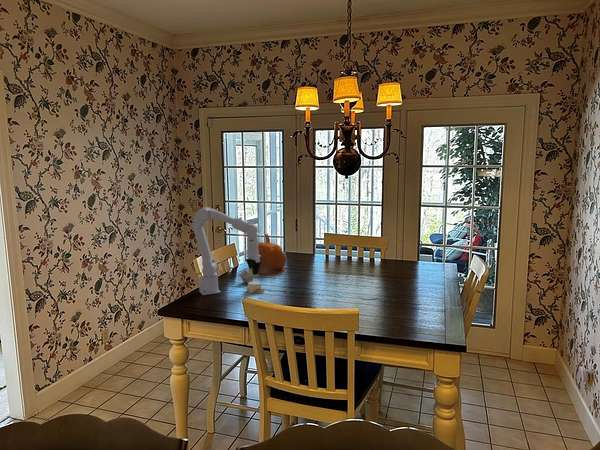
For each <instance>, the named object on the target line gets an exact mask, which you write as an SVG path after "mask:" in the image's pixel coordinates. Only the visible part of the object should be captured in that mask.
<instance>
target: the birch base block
mask: <svg viewBox="0 0 600 450" xmlns="http://www.w3.org/2000/svg"><path fill="white" fill-rule="evenodd" d="M246 291H247V292H248V293H249V294H250V295H255V294H260V293H261V292H262V293H265V288H264V287H263V286H261V289H254V290H250V289H249V288H248V286H247V287H246ZM262 293H261V294H262Z"/></svg>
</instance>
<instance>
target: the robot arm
mask: <svg viewBox="0 0 600 450" xmlns="http://www.w3.org/2000/svg"><path fill="white" fill-rule="evenodd" d="M215 219H216V220H219V221H221V222H224V223H227V224H229V225H231V226H232V228H233V229H235V230H237V231H240V232H242V233H244V234H246V251H247V253H246V258H245V262H246V264H247V266H248V269H249V268H252V271H253V275H257V274H258V269H259V266H260V264H261V261H260V258H259V257H261V255H259V252H258V242H259V238H258V237H259V236H258V233H259V227H258V225H257V224H256V223H253V222H251V221H246V220H244V219H243V217H234V218H233V217H231V216H229V215H227V214H225V213H223V212H221V211H219V210H218V209H215V208H212V207H209V206H204V207H201V209H198V211H196V213H195V214H194V219H193V221H192V229H193V232H194V233H193V234H194V235H195V236H194V237H195V239H196V242H197V243H196V244H197V245H198V250H199V252H200V256H201V265H202V268H201V269H202V274H203V275H202V276H199V277H198V286H199V293H200V294H201V295H202V296H207V295H213V294H214V295H215V294H220V293H222V292H221V290H219V274H218V273H217V271H218V269H219V265H218V263H217V262H216V260H215V258H214V257H213V255H212V252H211V249H210V245H209V241H208V238H207V236H206V235H207V234H206V232H205V227H204V226H205V225H206V224H207V221H208V220H215Z"/></svg>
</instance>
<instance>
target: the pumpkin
mask: <svg viewBox="0 0 600 450" xmlns="http://www.w3.org/2000/svg"><path fill="white" fill-rule="evenodd" d="M264 236H265V238H264V239H265V242H262V241H258V252H259V255H261V257H259V258H260V261H261V264H260V266H259V269H258V276H273V275H274V276H275V275H279V274H282V273H284V272H285V271H286V268H285V265H286V262H287V255H285V254H284V251H283V248H282V247H281V245H279V244H276V243H274V242H271V239H270V237H269V234H268V233H265V235H264Z"/></svg>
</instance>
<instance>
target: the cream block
mask: <svg viewBox="0 0 600 450" xmlns="http://www.w3.org/2000/svg"><path fill="white" fill-rule="evenodd" d="M247 287H248V288H249V289H250V290H254V289H261V287H262V283H261V282H259V281H256V280H255V281H252V282H248V283H247Z"/></svg>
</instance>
